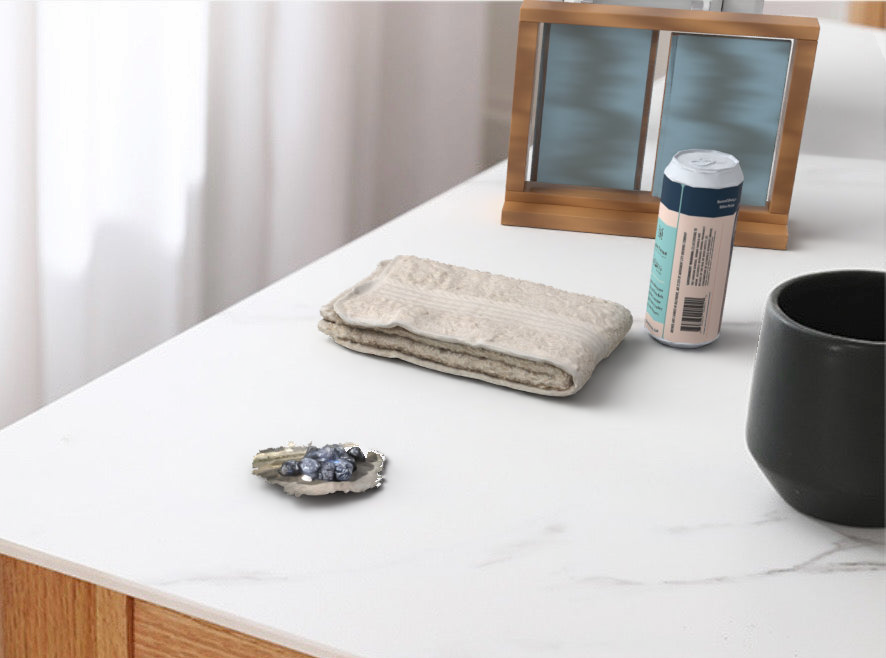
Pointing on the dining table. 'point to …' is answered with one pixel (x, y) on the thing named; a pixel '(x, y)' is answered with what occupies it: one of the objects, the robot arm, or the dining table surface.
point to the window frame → (681, 116)
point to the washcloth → (477, 325)
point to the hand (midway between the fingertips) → (640, 12)
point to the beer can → (693, 247)
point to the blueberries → (318, 468)
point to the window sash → (593, 105)
